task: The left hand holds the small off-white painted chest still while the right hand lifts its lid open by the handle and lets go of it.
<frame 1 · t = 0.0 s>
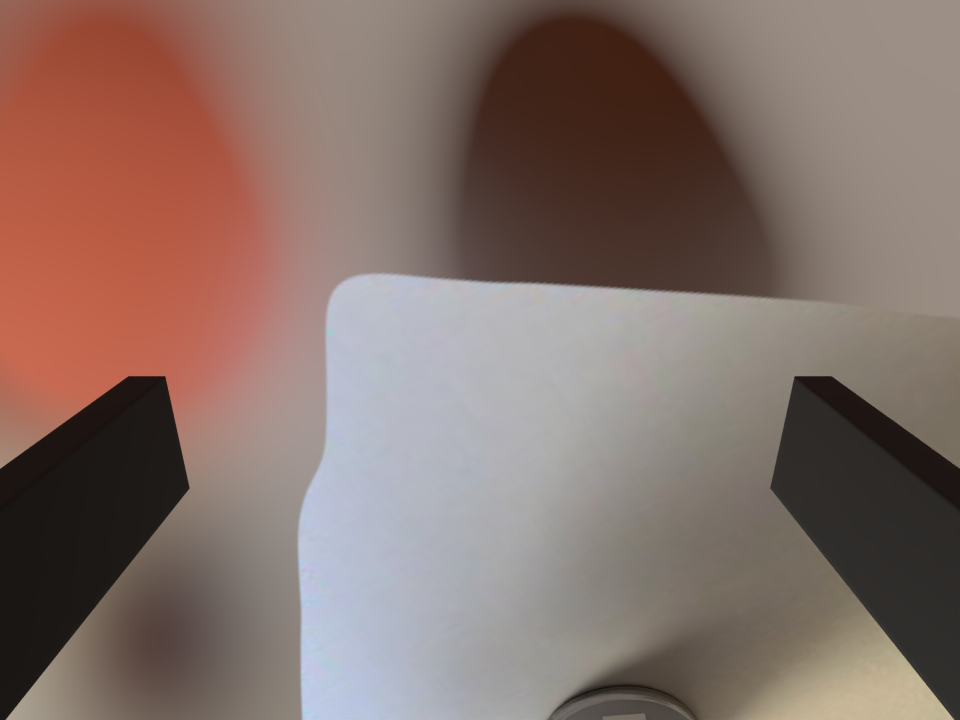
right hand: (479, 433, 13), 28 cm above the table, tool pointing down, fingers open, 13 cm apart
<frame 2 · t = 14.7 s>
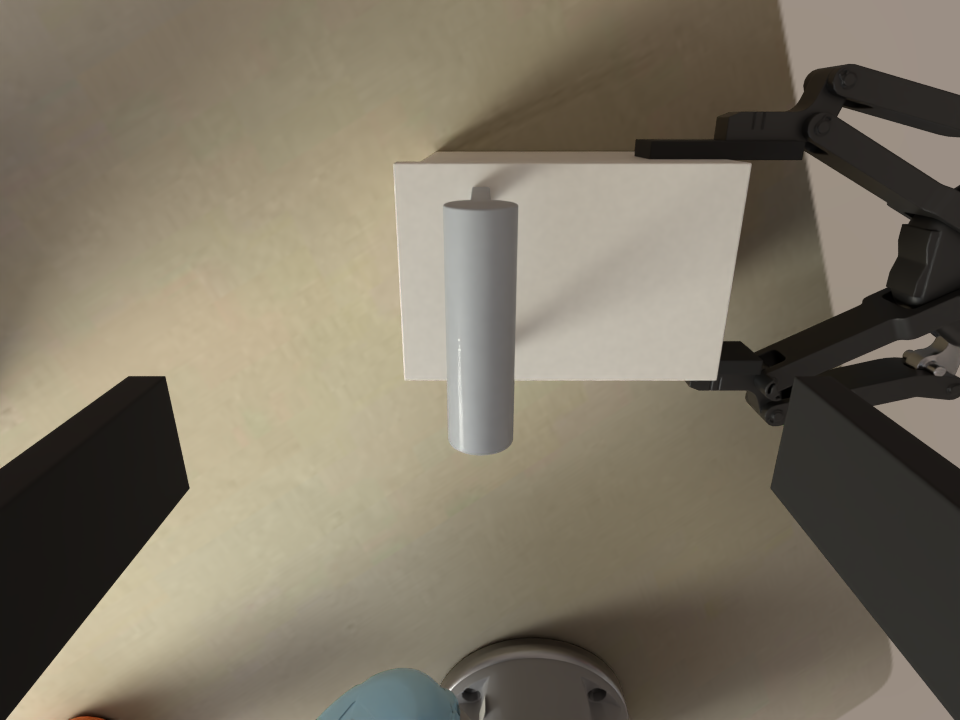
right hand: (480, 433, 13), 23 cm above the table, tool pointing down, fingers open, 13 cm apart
left hand: (631, 260, 28), fingers closed on chest, 9 cm apart
chest: (551, 237, 34), on the table, touching left hand
lid: (578, 302, 22), point 13 cm above the table, hinge at 0.0°
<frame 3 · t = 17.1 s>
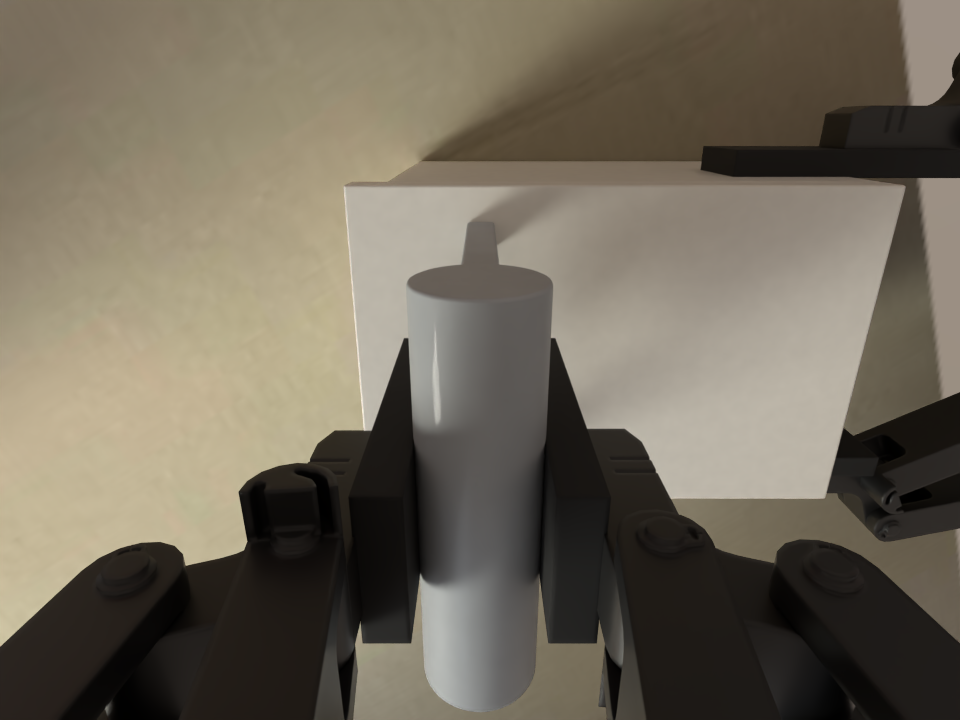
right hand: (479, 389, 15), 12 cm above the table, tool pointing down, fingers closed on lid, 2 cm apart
chest: (574, 273, 26), on the table, touching left hand
lid: (639, 414, 13), point 13 cm above the table, hinge at -0.1°, touching right hand
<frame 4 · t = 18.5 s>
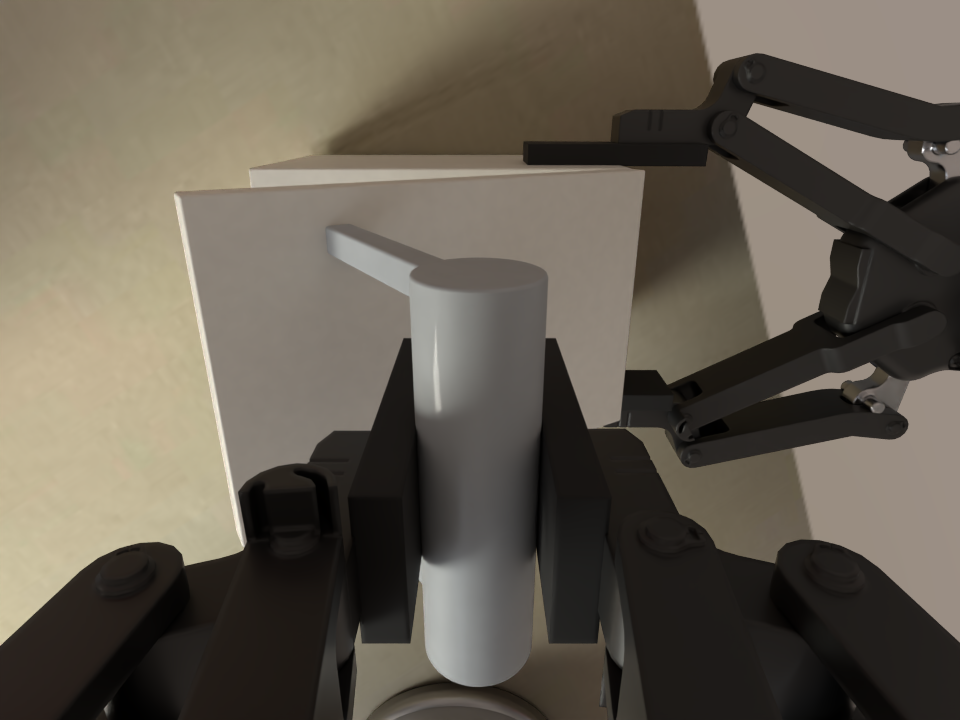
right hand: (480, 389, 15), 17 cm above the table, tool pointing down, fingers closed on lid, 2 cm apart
left hand: (521, 280, 25), fingers closed on chest, 9 cm apart
chest: (450, 250, 30), on the table, touching left hand
lid: (531, 379, 15), point 16 cm above the table, hinge at 30.7°, touching right hand
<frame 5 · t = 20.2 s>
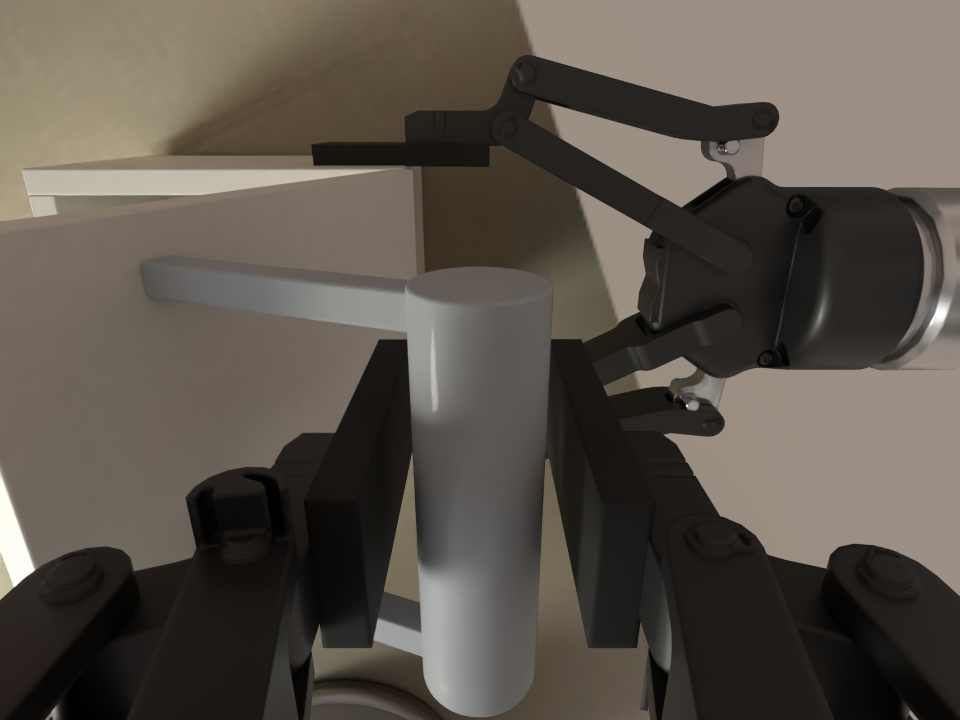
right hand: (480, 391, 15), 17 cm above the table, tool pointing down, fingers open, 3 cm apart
left hand: (333, 279, 25), fingers closed on chest, 9 cm apart
chest: (297, 250, 30), on the table, touching left hand
lid: (412, 392, 14), point 17 cm above the table, hinge at 67.1°
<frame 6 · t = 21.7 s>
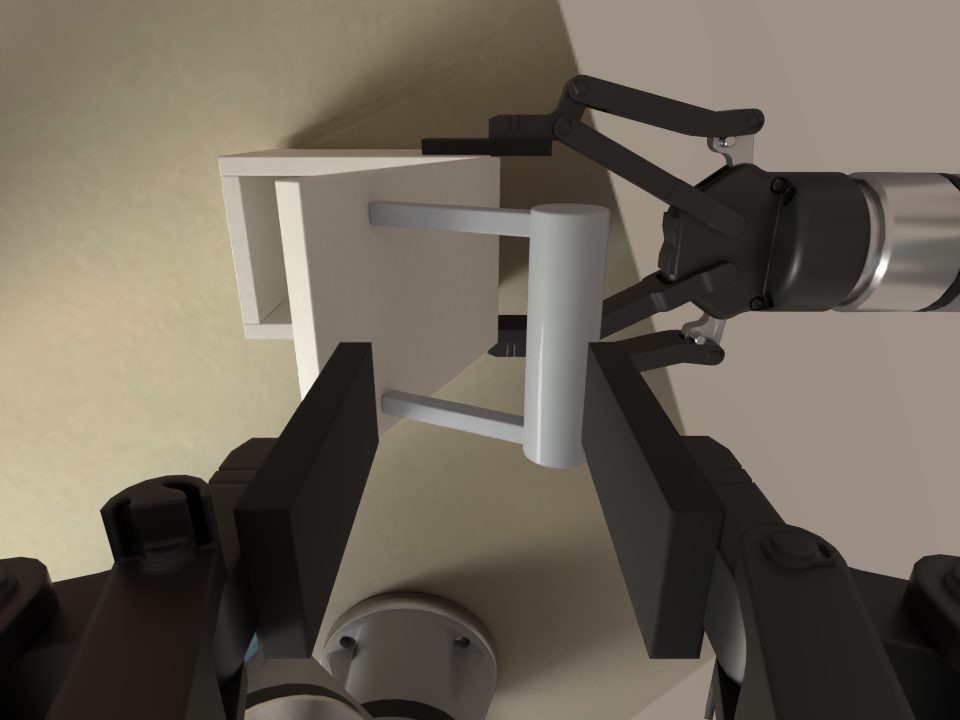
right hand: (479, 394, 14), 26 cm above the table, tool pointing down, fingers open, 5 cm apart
left hand: (427, 242, 33), fingers closed on chest, 9 cm apart
chest: (385, 225, 38), on the table, touching left hand
lid: (509, 298, 22), point 17 cm above the table, hinge at 64.2°
when the left hand's fingers open (6 cm above the table, at t = 24.1 s): chest stays where it is, on the table.
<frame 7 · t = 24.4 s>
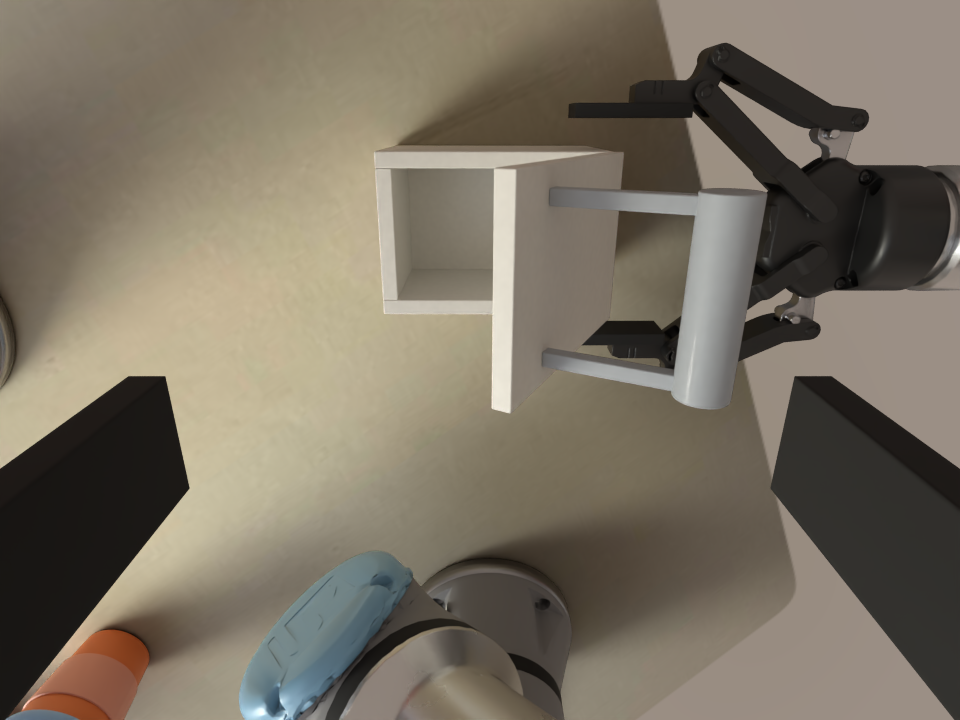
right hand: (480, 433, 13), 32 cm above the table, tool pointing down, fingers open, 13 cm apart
left hand: (564, 229, 36), fingers open, 13 cm apart
cup with straw: (119, 650, 58), on the table
chest: (490, 214, 42), on the table
lid: (649, 271, 26), point 17 cm above the table, hinge at 62.6°
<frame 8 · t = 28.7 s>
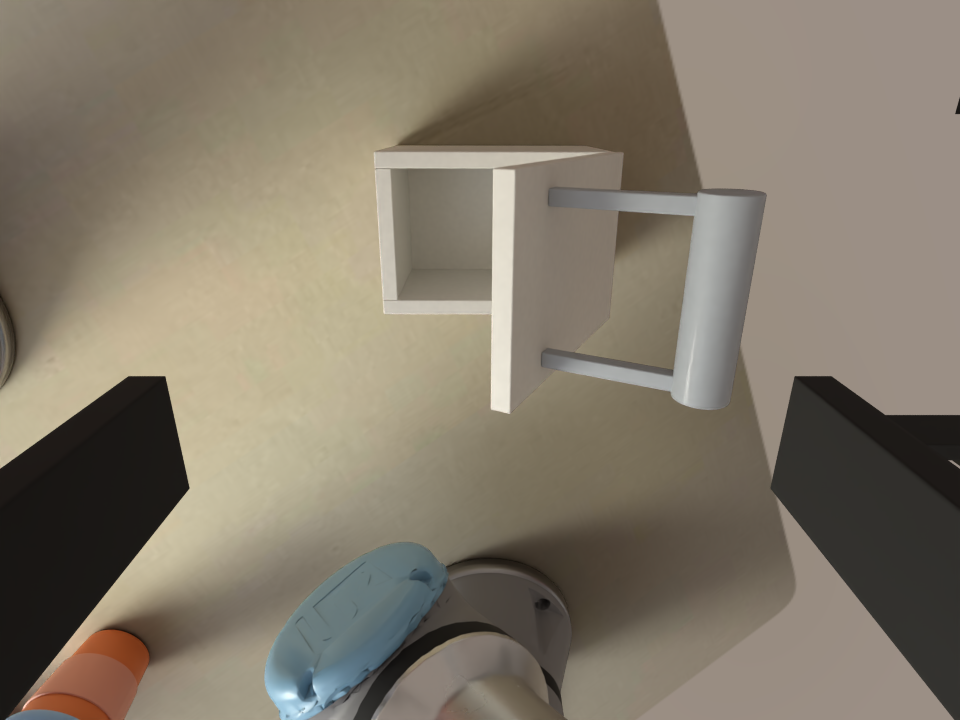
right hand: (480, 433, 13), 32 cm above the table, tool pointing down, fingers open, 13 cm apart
cup with straw: (119, 650, 58), on the table
chest: (490, 214, 42), on the table
lid: (649, 272, 26), point 17 cm above the table, hinge at 62.6°
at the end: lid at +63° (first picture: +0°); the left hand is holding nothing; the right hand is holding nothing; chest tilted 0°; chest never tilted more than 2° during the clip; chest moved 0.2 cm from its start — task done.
